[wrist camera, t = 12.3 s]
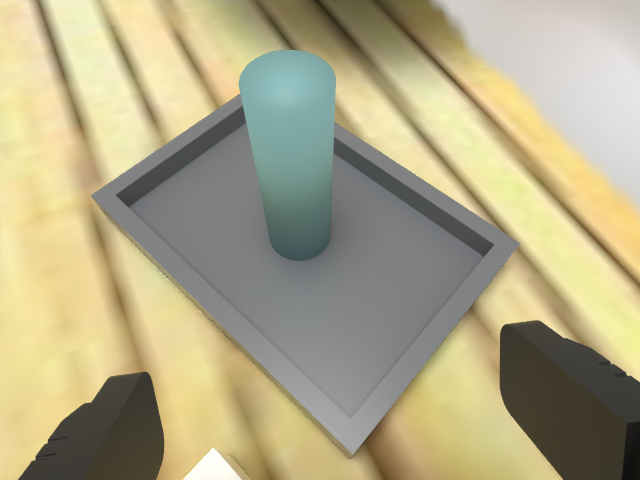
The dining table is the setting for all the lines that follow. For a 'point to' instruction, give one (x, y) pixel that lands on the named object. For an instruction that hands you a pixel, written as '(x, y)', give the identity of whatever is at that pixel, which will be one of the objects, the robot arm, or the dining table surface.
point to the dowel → (292, 147)
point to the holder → (217, 468)
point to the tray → (311, 267)
